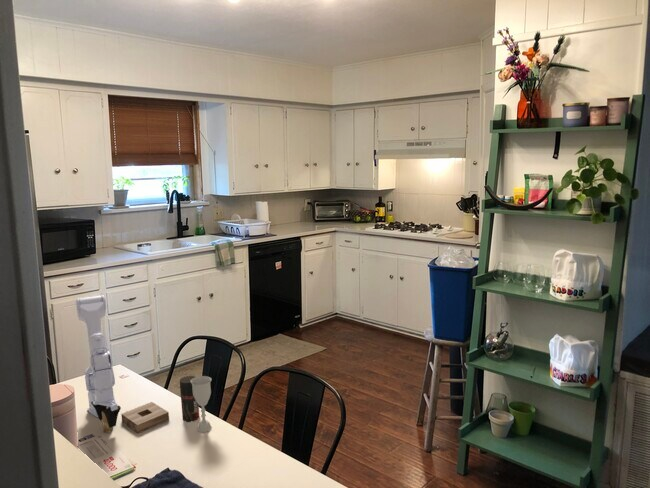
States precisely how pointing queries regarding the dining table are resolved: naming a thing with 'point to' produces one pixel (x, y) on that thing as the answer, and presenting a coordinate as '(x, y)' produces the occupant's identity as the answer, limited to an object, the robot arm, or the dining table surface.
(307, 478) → the dining table surface
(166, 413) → the socket block
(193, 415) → the deodorant
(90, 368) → the robot arm
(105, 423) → the pin
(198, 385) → the chalice
